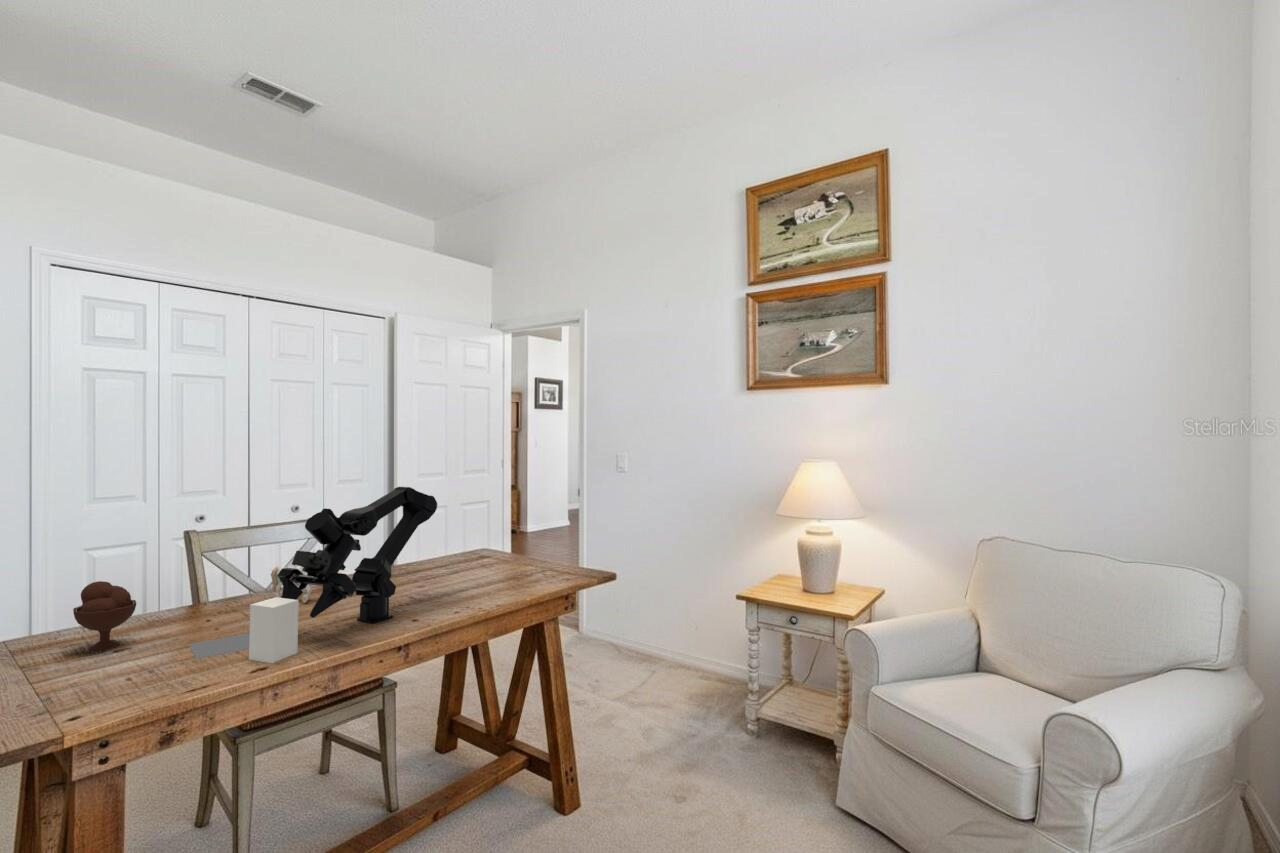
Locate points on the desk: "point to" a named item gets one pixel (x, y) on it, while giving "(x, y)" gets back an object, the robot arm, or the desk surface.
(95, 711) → the desk surface
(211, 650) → the mat
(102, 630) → the ice cream bowl
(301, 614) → the desk surface
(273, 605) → the rectangular block
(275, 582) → the unicorn figurine
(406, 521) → the robot arm
